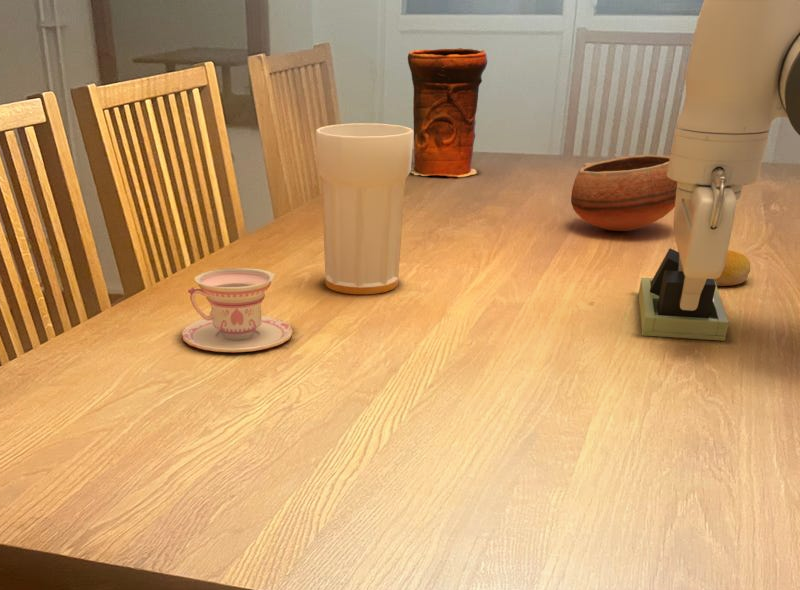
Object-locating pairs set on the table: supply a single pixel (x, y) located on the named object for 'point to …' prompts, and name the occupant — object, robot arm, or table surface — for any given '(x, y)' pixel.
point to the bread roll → (734, 269)
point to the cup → (363, 203)
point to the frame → (680, 318)
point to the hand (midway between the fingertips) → (685, 300)
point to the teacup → (235, 312)
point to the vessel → (445, 109)
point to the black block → (672, 294)
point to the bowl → (624, 192)
